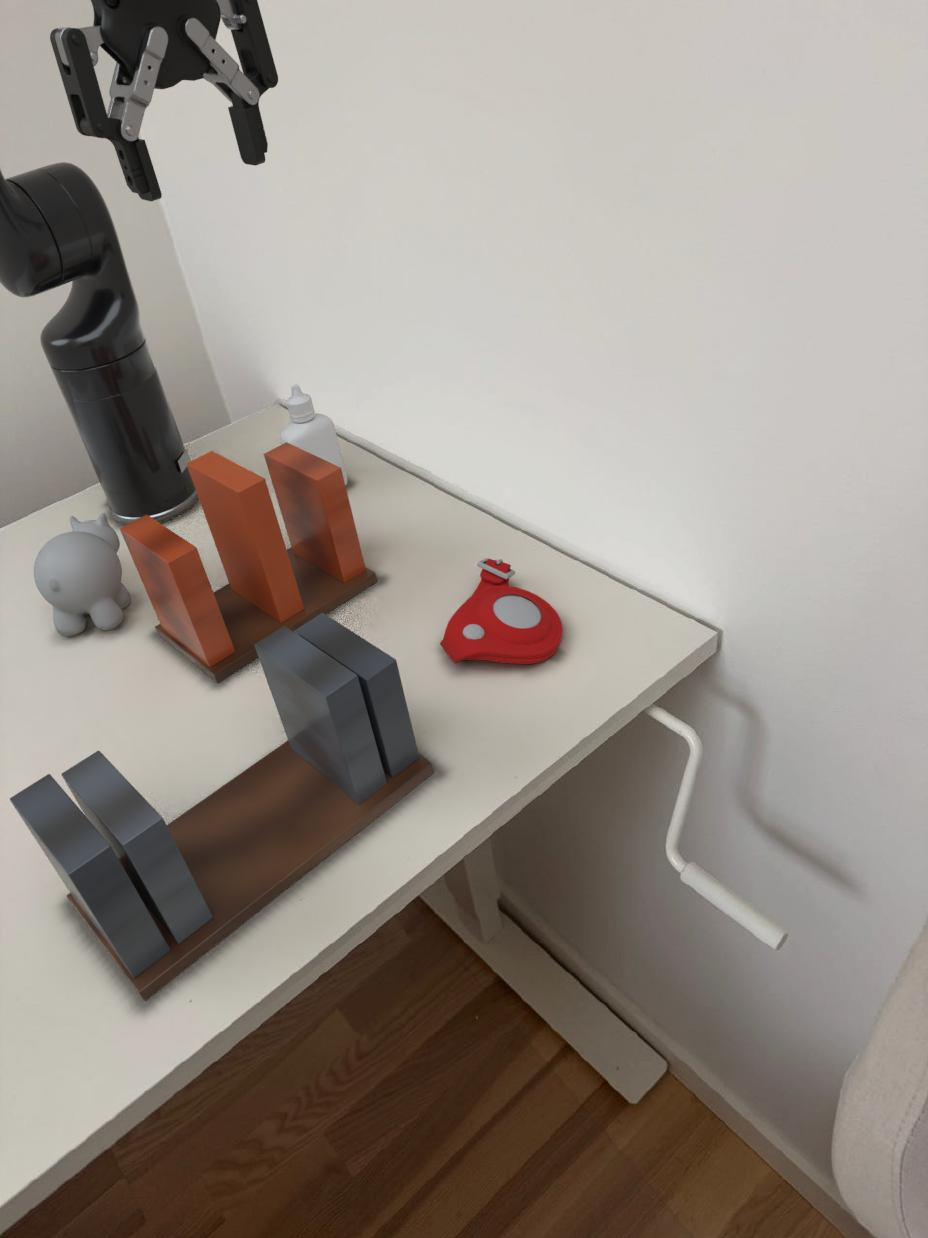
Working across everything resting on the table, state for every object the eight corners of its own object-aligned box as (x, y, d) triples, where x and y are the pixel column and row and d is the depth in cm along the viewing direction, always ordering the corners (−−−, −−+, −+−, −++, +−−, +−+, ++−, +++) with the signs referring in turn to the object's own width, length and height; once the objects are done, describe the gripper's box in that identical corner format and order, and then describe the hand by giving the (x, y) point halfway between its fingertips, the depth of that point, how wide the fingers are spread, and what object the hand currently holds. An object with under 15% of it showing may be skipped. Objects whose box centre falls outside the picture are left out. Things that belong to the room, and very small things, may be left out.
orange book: (231, 589, 86) (185, 463, 78) (254, 576, 87) (211, 450, 79) (281, 623, 81) (238, 492, 73) (305, 609, 82) (265, 478, 74)
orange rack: (158, 635, 84) (110, 525, 77) (312, 544, 92) (282, 437, 85) (217, 683, 77) (171, 569, 70) (377, 581, 86) (351, 469, 78)
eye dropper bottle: (294, 489, 101) (263, 383, 93) (346, 476, 101) (320, 370, 94) (299, 509, 97) (268, 401, 90) (352, 495, 98) (326, 387, 90)
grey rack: (71, 904, 62) (-3, 792, 55) (347, 709, 73) (314, 595, 66) (144, 1002, 56) (71, 889, 49) (434, 772, 67) (407, 654, 60)
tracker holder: (591, 630, 74) (486, 663, 69) (576, 669, 77) (474, 704, 72) (506, 536, 81) (405, 560, 76) (495, 575, 84) (396, 601, 79)
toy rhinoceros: (161, 559, 93) (131, 484, 88) (124, 637, 84) (88, 559, 79) (91, 566, 94) (56, 492, 89) (47, 645, 85) (5, 567, 80)
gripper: (192, -118, 63) (258, 149, 73) (-16, -84, 56) (88, 205, 66) (254, -130, 58) (316, 157, 68) (35, -95, 51) (139, 218, 61)
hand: (204, 180), depth 67 cm, fingers open, 8 cm apart
